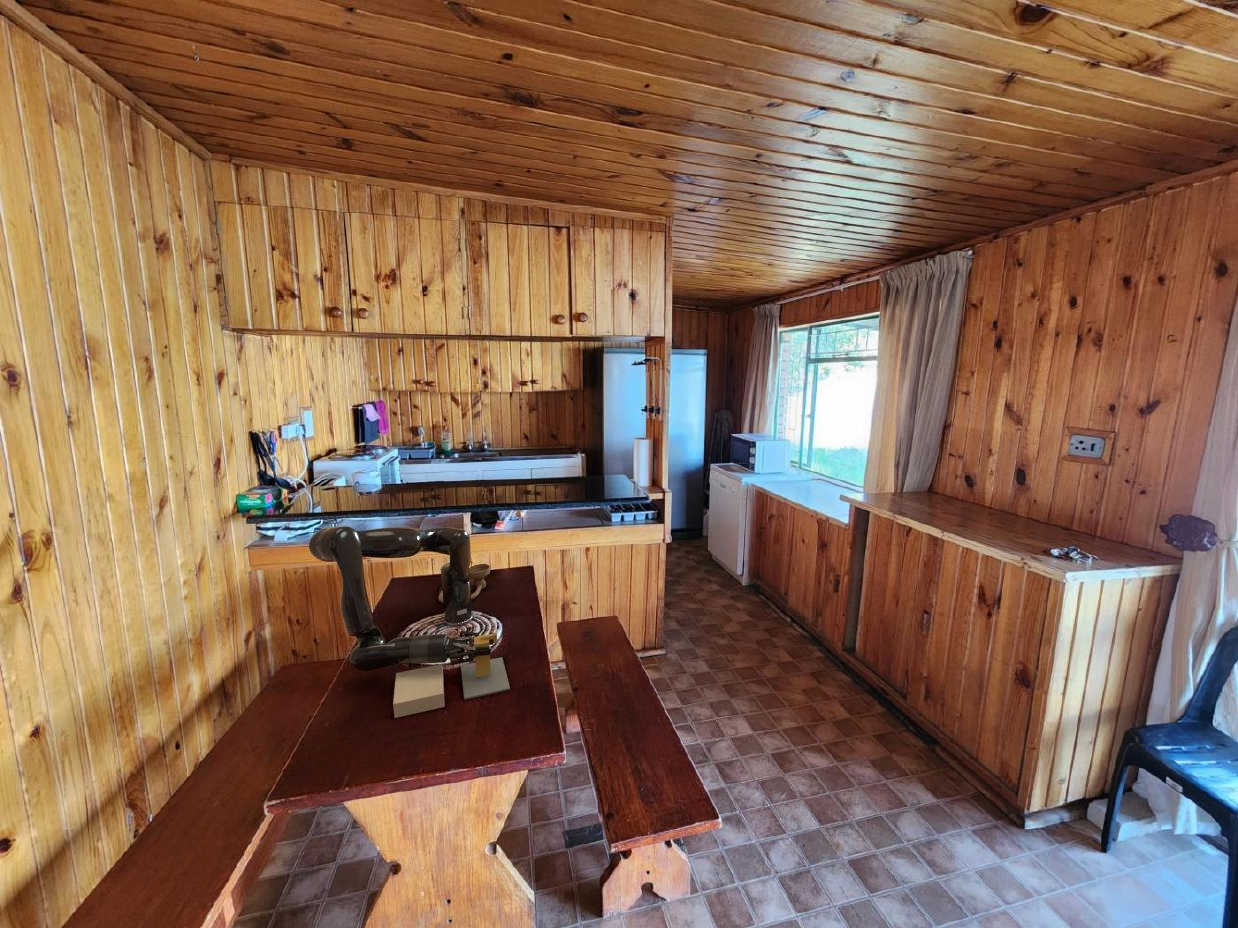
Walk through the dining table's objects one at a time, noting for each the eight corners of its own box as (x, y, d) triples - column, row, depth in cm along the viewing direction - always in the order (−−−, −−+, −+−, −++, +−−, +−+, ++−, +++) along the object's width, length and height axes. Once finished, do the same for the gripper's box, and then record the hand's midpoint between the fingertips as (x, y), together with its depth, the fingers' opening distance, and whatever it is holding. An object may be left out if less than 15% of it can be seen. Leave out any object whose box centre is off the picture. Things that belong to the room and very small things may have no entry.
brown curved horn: (434, 610, 186) (486, 604, 187) (430, 588, 184) (483, 582, 186) (449, 583, 209) (496, 577, 211) (446, 563, 208) (493, 558, 209)
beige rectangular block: (397, 685, 140) (396, 672, 139) (443, 676, 144) (442, 663, 143) (394, 718, 127) (393, 703, 126) (444, 706, 131) (443, 693, 131)
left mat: (460, 667, 149) (460, 665, 149) (502, 658, 153) (502, 656, 153) (464, 700, 134) (464, 698, 134) (510, 689, 138) (509, 687, 138)
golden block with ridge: (475, 669, 144) (473, 633, 142) (498, 665, 146) (496, 630, 144) (476, 677, 140) (474, 641, 138) (499, 673, 142) (497, 637, 140)
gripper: (421, 650, 132) (487, 647, 134) (435, 623, 146) (495, 620, 148) (423, 676, 134) (489, 672, 135) (437, 647, 148) (496, 644, 149)
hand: (491, 645), depth 142 cm, fingers closed on golden block with ridge, 4 cm apart
